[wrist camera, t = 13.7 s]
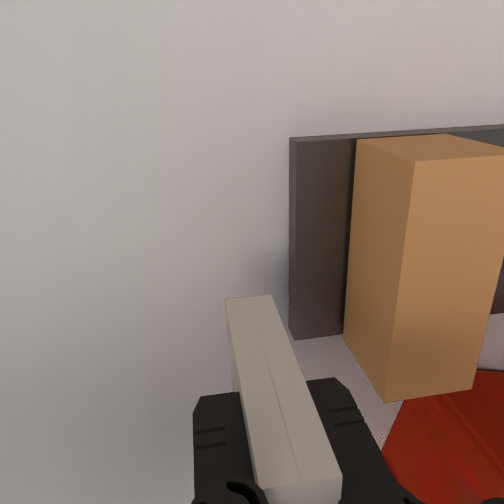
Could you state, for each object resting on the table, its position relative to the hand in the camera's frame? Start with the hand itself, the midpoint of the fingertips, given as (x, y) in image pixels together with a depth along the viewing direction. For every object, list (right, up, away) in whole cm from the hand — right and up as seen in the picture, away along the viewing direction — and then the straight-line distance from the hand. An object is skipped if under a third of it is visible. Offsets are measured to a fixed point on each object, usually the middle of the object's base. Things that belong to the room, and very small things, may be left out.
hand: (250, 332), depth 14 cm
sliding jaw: (+7, +3, +6) cm, 9 cm away
